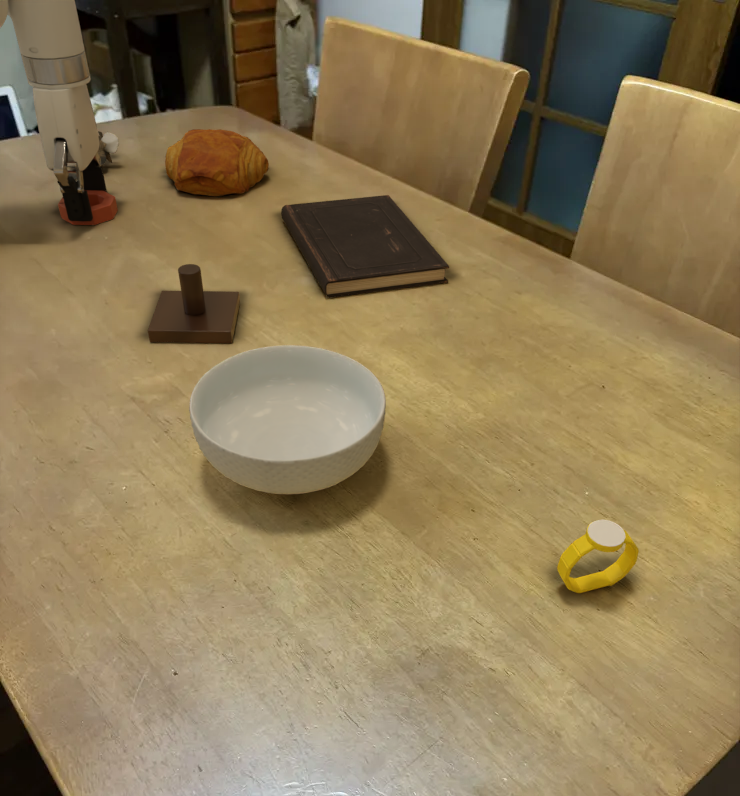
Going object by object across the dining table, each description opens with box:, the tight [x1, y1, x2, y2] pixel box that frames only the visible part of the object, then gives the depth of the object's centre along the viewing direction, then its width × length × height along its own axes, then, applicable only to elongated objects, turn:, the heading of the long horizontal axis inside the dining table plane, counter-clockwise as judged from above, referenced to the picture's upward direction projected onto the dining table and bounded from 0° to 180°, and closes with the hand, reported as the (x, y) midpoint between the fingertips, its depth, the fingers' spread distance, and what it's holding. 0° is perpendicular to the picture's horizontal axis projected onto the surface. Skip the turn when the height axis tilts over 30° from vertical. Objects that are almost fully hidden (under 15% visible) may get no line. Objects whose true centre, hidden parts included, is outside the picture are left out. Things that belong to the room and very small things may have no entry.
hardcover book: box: [280, 194, 450, 299], centre depth 100 cm, size 16×23×2 cm
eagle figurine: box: [69, 130, 120, 180], centre depth 116 cm, size 8×7×9 cm
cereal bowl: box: [188, 344, 387, 495], centre depth 66 cm, size 17×17×7 cm
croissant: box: [164, 128, 270, 197], centre depth 114 cm, size 14×16×8 cm
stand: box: [147, 263, 241, 344], centre depth 84 cm, size 9×9×6 cm
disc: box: [57, 190, 119, 226], centre depth 106 cm, size 7×7×2 cm
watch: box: [556, 519, 640, 594], centre depth 57 cm, size 6×3×6 cm, turn 105°
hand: (88, 206), depth 106 cm, fingers open, 7 cm apart
